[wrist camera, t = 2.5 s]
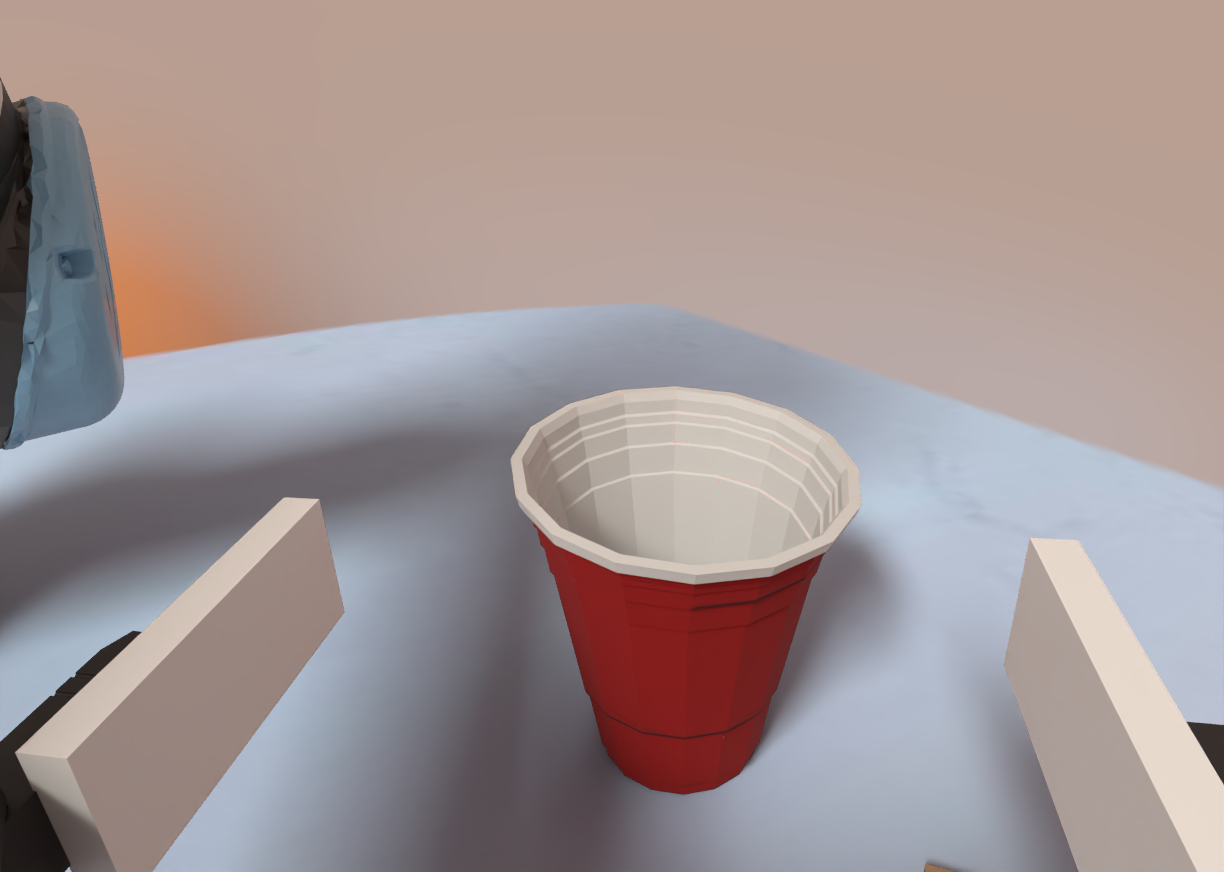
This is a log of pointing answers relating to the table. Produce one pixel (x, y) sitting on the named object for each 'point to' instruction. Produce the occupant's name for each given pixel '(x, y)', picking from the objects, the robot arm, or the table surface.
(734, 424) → the plastic cup
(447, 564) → the table surface
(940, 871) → the walnut board
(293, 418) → the table surface
